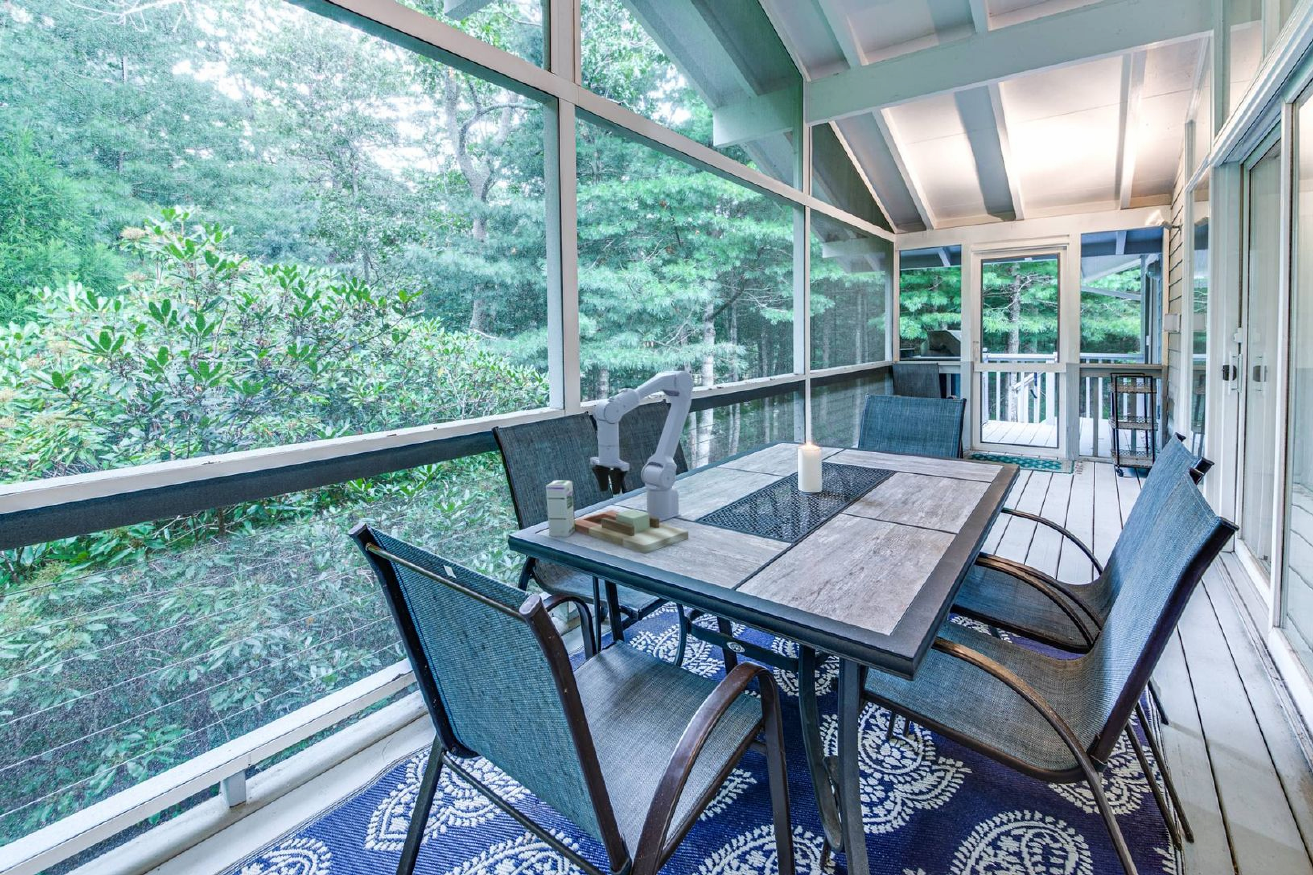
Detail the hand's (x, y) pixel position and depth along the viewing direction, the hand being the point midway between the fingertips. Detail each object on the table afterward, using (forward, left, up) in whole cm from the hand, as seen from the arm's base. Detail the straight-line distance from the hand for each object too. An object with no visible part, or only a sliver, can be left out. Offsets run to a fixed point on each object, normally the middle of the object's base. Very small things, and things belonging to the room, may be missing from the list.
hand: (610, 492), depth 175 cm
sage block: (0, +9, -8) cm, 12 cm away
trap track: (0, +7, -10) cm, 12 cm away
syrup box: (+12, -7, -11) cm, 17 cm away
